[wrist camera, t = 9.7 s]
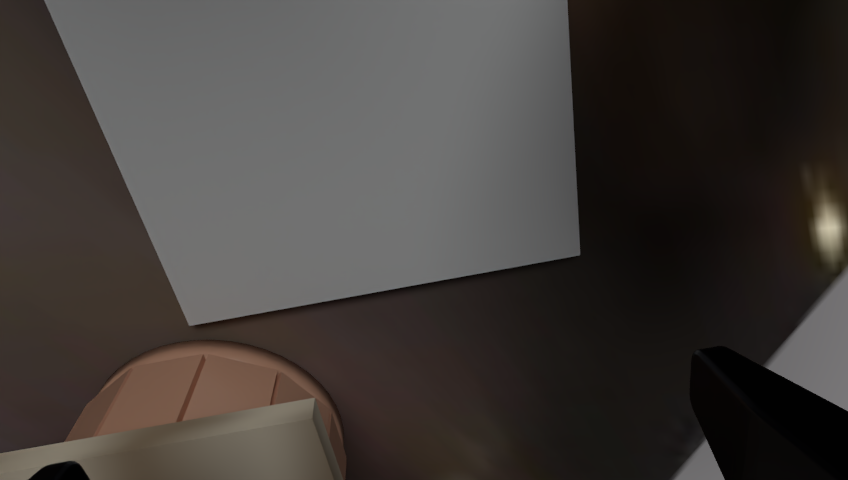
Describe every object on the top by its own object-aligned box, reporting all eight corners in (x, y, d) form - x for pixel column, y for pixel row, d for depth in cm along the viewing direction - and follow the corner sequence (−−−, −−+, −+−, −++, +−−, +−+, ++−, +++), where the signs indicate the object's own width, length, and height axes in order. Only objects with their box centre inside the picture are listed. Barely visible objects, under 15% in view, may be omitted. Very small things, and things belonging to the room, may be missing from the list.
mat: (548, -240, 15) (555, -245, 14) (575, 246, 22) (580, 255, 21) (-2, -131, 15) (-15, -133, 15) (193, 316, 22) (189, 326, 21)
